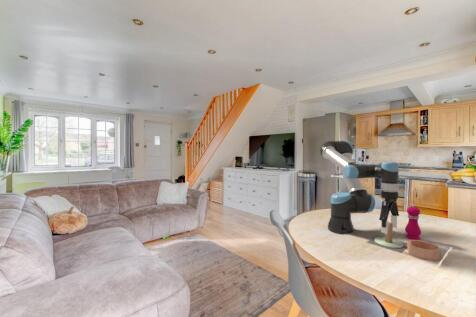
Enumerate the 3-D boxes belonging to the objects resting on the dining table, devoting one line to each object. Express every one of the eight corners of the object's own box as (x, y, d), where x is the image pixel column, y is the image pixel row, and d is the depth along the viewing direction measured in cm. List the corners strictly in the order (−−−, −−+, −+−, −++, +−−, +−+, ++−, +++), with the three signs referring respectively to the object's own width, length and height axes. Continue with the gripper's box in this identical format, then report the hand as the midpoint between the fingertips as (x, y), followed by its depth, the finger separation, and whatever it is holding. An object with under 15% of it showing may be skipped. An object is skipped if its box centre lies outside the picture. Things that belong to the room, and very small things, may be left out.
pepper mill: (414, 242, 122) (415, 206, 122) (401, 237, 129) (402, 203, 128) (424, 240, 124) (425, 205, 123) (411, 235, 131) (411, 202, 130)
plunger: (370, 242, 121) (370, 222, 120) (379, 236, 129) (380, 217, 128) (398, 251, 111) (399, 229, 110) (406, 243, 119) (407, 223, 118)
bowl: (404, 254, 108) (404, 244, 108) (411, 247, 116) (412, 238, 116) (436, 264, 99) (437, 253, 99) (442, 255, 106) (442, 245, 106)
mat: (366, 243, 121) (366, 242, 121) (377, 236, 131) (377, 235, 131) (401, 254, 109) (401, 252, 109) (411, 245, 118) (411, 244, 118)
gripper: (389, 194, 108) (388, 237, 109) (405, 189, 123) (405, 226, 124) (372, 192, 114) (372, 233, 114) (389, 187, 129) (389, 223, 130)
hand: (389, 230), depth 119 cm, fingers open, 13 cm apart
